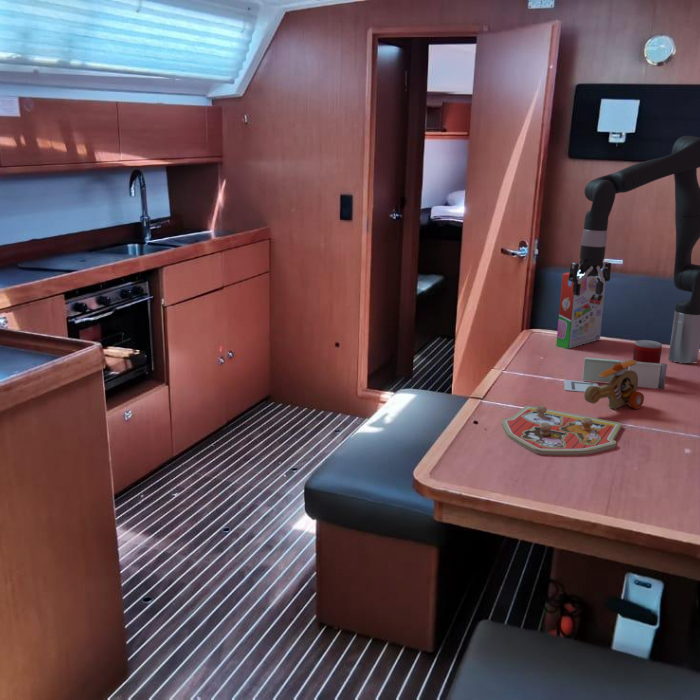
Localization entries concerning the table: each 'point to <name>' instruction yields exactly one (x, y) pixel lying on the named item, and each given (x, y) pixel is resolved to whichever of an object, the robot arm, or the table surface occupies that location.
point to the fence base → (649, 374)
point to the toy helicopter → (617, 387)
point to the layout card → (577, 385)
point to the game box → (579, 313)
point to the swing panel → (597, 369)
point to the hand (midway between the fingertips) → (587, 294)
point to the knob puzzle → (560, 432)
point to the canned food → (647, 351)
